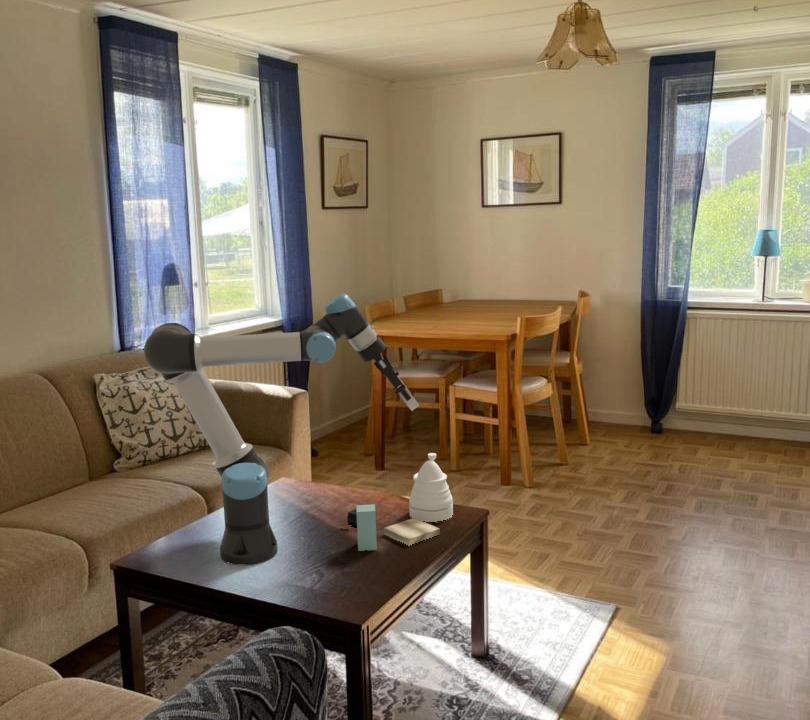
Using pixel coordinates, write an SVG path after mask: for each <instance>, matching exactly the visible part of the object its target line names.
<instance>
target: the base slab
mask: <svg viewBox="0 0 810 720" xmlns="http://www.w3.org/2000/svg"><path fill="white" fill-rule="evenodd" d="M440 530H441V529H440V527H437V526H435V525H433V524H431V523H426V522H423V521H421V520H418V519H416V518H410V519H407V520H403V521H400V522H397V523H395V524H392V525H388V526H386V527H383V531H384V532H383V533H384V535H385V537H386V536H387V537H388V536H389V537H388V538H391V539H393V540H395V541H397V542H399V541H400V542H399V543H401V542H402V543H401V544H403V543H404V544H403V545H405V544H406V545H405V546H407V545H408V547H411V546H413V545H412V544H414V545H416V544H415V543H417V544H419V543H418V542H420V541H423V540H425V541H427V540H426V539H428V540H430V539H429V538H431V539H433V538H432V537H434V536H437V535H440V536H441V531H440ZM437 537H438V536H437ZM434 538H435V537H434ZM423 542H424V541H423ZM420 543H421V542H420ZM410 545H411V546H410Z"/></svg>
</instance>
